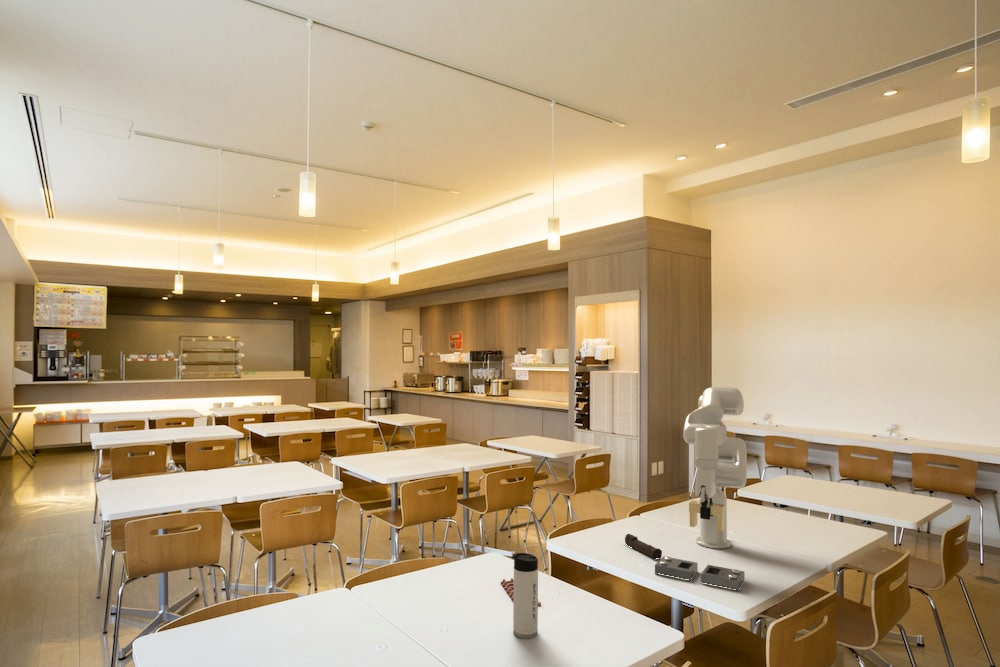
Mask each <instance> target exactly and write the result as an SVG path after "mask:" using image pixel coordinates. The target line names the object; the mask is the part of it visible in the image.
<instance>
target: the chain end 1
mask: <svg viewBox="0 0 1000 667" xmlns="http://www.w3.org/2000/svg"><path fill="white" fill-rule="evenodd" d="M698 565H699V564H698V562H696V561H690V560H687V559H686V560H684V559H681V558H680V559H679V558H675V557H672V556H671V557H670V556H663V557H661V558H660V559H659V561H657V562H656V563H655V564H654V574H655V573H660V574H664V575H669V576H674V577H679V578H683V579H689V580H690V579H691V578H692V577H693V576H694V574H695V573H696V572H697V571H698V570H699V569H698ZM697 573H698V572H697ZM697 573H696V574H697ZM696 574H695V575H696ZM694 577H695V576H694ZM694 577H693V578H694ZM693 578H692V579H693ZM692 579H691V580H692ZM691 580H690V581H691Z"/></svg>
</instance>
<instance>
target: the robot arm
mask: <svg viewBox="0 0 1000 667" xmlns="http://www.w3.org/2000/svg"><path fill="white" fill-rule="evenodd" d="M697 400H698V401H697V403H698V404H697V407H698V408H696V409H695V410H693V411H692V412H690V413H689V414H688V415H687V416H686V418H685V421H684V424H683V432H682V437H683V440H684V441H685V443H687V444H688V445H693V446H694V451H695V452H694V467H695V468H696V477H695V494H694V496H695V497H696V498H699V501H700V513H699V518H700V536H698V537H696V543H697V544H698V545H699V546H702V547H704V548H709V549H728V548H730V547H731V546H732V542H731V541H730V540H729V539H728V530H727V529H728V528H727V527H728V522H727V520H728V519H727V516H728V515H727V513H728V512H727V511H728V507H727V506H728V505H727V504H728V500H727V496H726V494H725V493H724V492H723V490H722V488H731V489H742V488H744V487H745V486H746V484H747V476H748V474H747V473H748V469H747V467H748V460H747V459H748V458H747V457H748V456H747V455H748V454H747V453H748V450H747V444H746V442H745V441H744V439H742V438H739V437H729V436H727V431H728V429H727V426H726V425H725V423H724V422H723V421H722V419H723V418H724V416H740V415H742V414H743V412H744V408H745V402H744V397H743V394H742V392H741V391H740V390H739V388H736V387H729V386H728V387H725V386H719V387H718V386H711V387H707V388H705V390H704V391H703V392H702V395H700V396H699V398H698V399H697ZM709 503H714V504H722V505H725V514H724V530H723V531H717V516H716V515H710V507H709Z"/></svg>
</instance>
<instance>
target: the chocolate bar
mask: <svg viewBox="0 0 1000 667" xmlns="http://www.w3.org/2000/svg"><path fill="white" fill-rule="evenodd" d="M500 585H501V587H502V588H503V590H504V591H505V593H506V594H507V596H508V597H509V599H510V600H511V602H512V604H514V577H511V578H510V580H506V579H505V578H502V580H500ZM541 606H542V603H541V601H538V607H541Z"/></svg>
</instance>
